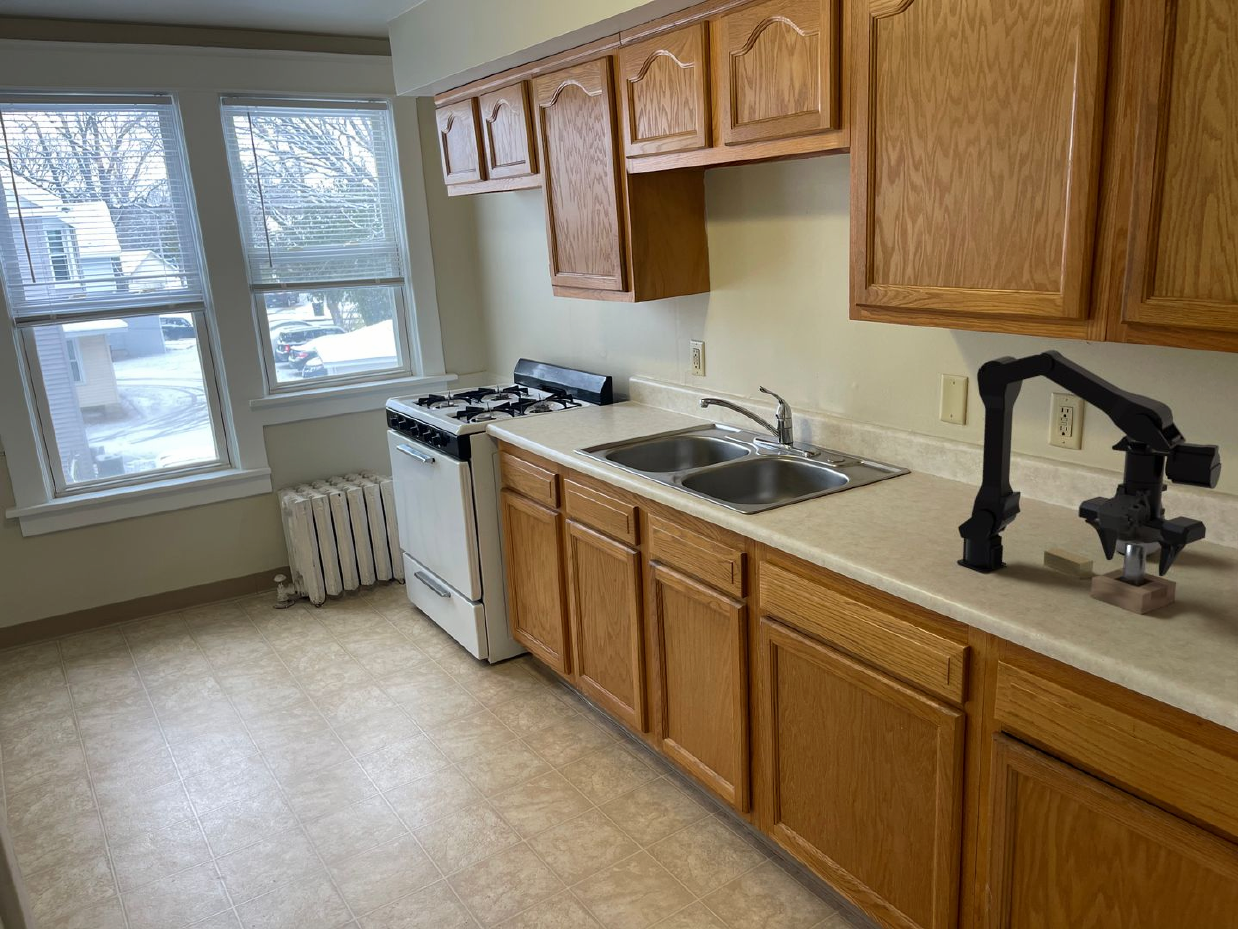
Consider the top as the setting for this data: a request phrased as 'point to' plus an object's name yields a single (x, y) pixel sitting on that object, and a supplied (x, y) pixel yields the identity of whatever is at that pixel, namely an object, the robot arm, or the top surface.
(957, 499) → the top surface
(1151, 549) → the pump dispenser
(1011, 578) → the top surface
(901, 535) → the top surface
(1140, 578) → the cylinder
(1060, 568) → the square bit
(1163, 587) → the socket block
